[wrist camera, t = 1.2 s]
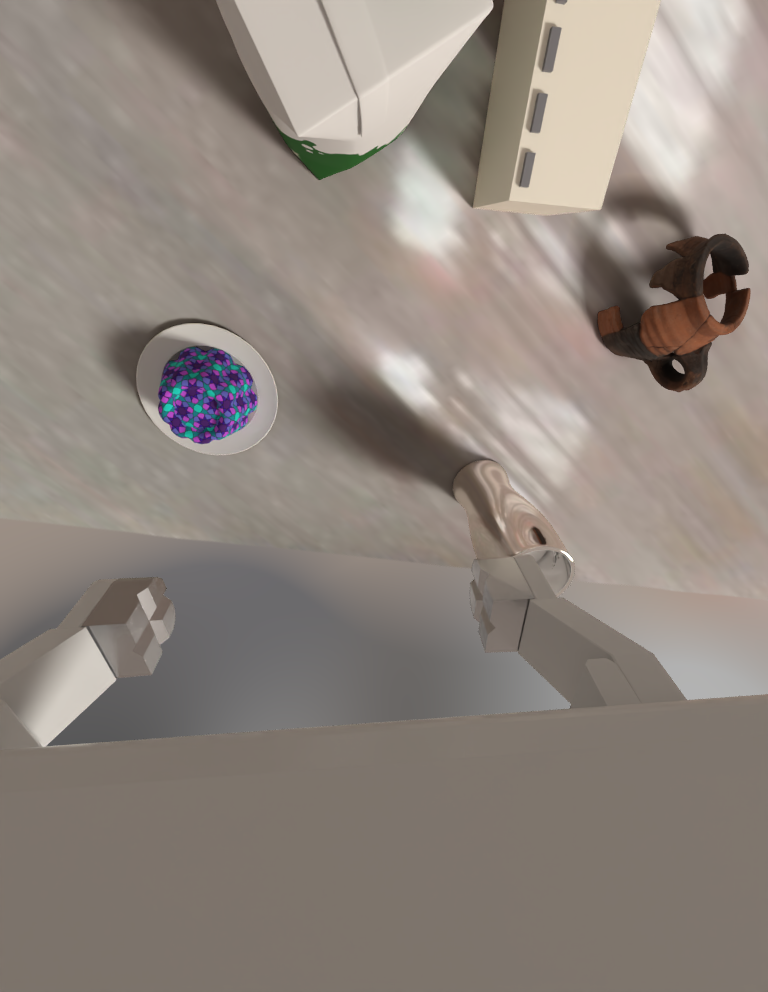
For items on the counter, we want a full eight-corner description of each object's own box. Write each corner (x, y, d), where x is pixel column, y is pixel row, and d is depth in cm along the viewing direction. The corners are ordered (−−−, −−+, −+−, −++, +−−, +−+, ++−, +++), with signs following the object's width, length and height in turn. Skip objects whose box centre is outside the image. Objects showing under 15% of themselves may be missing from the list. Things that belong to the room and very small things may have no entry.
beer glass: (505, 446, 43) (575, 533, 31) (514, 499, 47) (580, 596, 34) (441, 467, 44) (484, 561, 31) (455, 518, 48) (498, 620, 35)
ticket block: (468, 207, 32) (505, 199, 25) (506, -53, 25) (572, -165, 18) (546, 215, 33) (603, 209, 26) (604, -36, 26) (703, -136, 19)
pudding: (170, 289, 33) (145, 298, 29) (303, 374, 38) (298, 392, 33) (120, 409, 38) (91, 432, 33) (243, 472, 42) (232, 499, 38)
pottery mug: (578, 284, 36) (678, 241, 29) (645, 251, 39) (752, 205, 32) (613, 412, 40) (710, 403, 32) (672, 372, 42) (774, 356, 35)
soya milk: (423, 132, 29) (541, -10, 12) (313, 202, 31) (284, 159, 14) (365, -41, 25) (426, -631, 8) (239, 50, 26) (65, -285, 9)
